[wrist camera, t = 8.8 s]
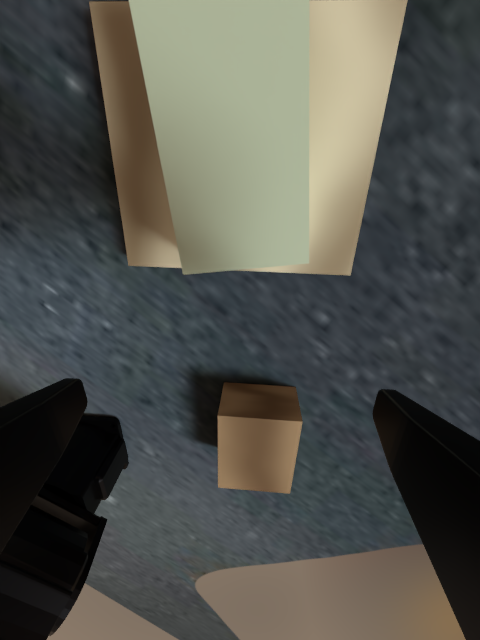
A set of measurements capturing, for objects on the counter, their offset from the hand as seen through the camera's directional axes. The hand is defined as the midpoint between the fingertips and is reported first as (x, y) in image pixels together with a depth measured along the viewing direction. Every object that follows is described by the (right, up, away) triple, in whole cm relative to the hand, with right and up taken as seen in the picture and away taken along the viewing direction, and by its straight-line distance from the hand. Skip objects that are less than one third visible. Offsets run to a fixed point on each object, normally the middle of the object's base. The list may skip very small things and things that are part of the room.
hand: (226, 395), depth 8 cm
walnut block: (+2, -7, +16) cm, 17 cm away
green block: (0, +11, +6) cm, 12 cm away
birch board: (0, +11, +7) cm, 14 cm away
